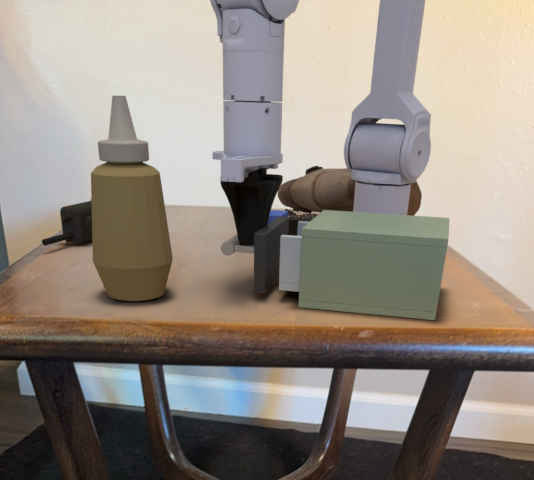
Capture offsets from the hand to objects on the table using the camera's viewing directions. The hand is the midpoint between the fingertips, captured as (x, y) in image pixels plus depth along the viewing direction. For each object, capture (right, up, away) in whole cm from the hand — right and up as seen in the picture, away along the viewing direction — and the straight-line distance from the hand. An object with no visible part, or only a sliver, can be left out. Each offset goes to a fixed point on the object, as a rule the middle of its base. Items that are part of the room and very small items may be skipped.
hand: (251, 248), depth 67 cm
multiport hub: (+10, +12, +29) cm, 33 cm away
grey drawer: (+6, -4, +1) cm, 7 cm away
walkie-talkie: (-21, +14, +25) cm, 35 cm away
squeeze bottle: (-12, -6, -1) cm, 13 cm away
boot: (+23, +21, +34) cm, 46 cm away
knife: (+9, +18, +37) cm, 42 cm away
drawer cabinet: (+13, -5, 0) cm, 14 cm away
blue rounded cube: (+2, +8, +21) cm, 23 cm away
